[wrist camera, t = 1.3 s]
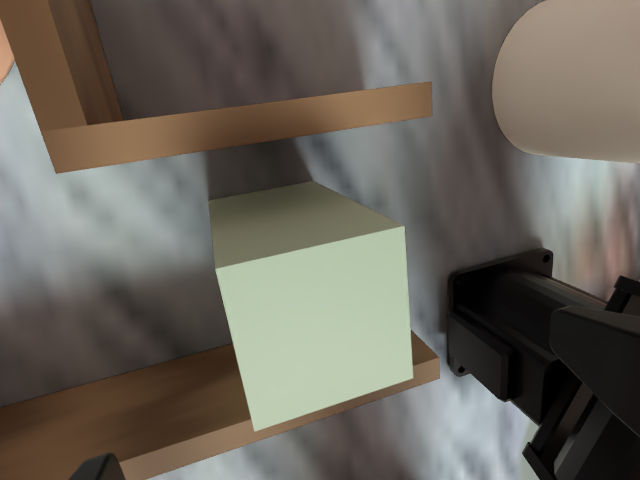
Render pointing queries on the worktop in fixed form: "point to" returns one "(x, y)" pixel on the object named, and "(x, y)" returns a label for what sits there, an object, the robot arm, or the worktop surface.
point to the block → (311, 298)
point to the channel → (136, 145)
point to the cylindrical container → (572, 80)
